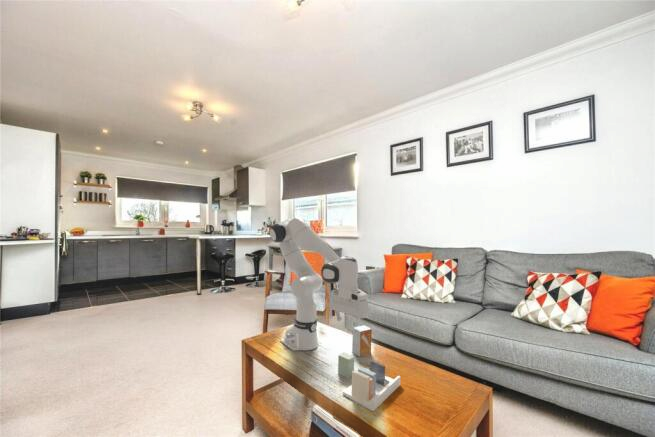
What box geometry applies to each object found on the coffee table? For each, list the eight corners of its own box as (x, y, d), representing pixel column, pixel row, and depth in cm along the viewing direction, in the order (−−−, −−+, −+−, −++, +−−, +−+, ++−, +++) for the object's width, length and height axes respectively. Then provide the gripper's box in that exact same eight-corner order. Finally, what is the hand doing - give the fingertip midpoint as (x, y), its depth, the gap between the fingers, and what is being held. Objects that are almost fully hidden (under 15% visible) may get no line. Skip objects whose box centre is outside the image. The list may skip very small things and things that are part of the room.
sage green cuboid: (338, 373, 121) (338, 355, 121) (343, 369, 124) (343, 352, 124) (348, 378, 117) (349, 359, 117) (353, 374, 120) (354, 356, 120)
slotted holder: (342, 394, 105) (343, 369, 106) (371, 372, 122) (372, 350, 122) (373, 411, 96) (374, 383, 96) (400, 385, 113) (400, 361, 113)
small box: (359, 357, 136) (360, 331, 136) (351, 352, 141) (352, 327, 142) (371, 353, 140) (372, 328, 141) (363, 348, 146) (364, 324, 146)
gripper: (326, 289, 126) (325, 319, 125) (362, 297, 113) (362, 331, 112) (334, 287, 131) (334, 316, 130) (370, 295, 117) (370, 327, 117)
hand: (347, 323), depth 121 cm, fingers open, 8 cm apart
